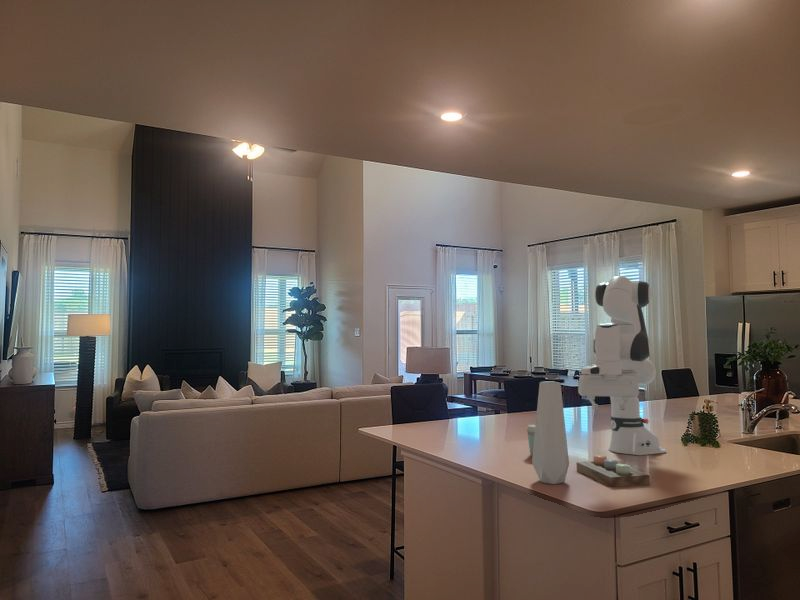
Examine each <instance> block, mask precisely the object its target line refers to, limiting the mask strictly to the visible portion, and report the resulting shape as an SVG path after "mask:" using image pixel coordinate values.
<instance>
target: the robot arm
mask: <svg viewBox="0 0 800 600" xmlns="http://www.w3.org/2000/svg"><path fill="white" fill-rule="evenodd" d="M652 293H653V292H652V289H651V286H650V284H649V283H648V282H646V281H642V280H638V281H637V280H635V281H634V280H630V279H629V278H628V277H626V276H623V275H617V276H613V277H612V278H610V279H609V280H608V282H607V281H603V282H601V283H598V284H597V286H596V287H595V289H594V294H593V295H594V300H595V302H596V304H597V305H598V306H599V307H602V308H603V310H604V311H603V312H605V314H606V315H607V316H608V317H610V322H603V323H598V324H597V325H596V327H595V332H594V333H595V334H594V339H593V353H594V354H595V357H594V363H593V364H591V365H590V364H589V365H586V366H584V367H581V369H580V372H581V375H580V376H579V378H578V387H577V393H578V394H579V396H582V397H588V400H589V402H590V404H591V408H592V410H594V411H595V410H598V411H599V404H597V403H596V402H595V400H596V397H609V399H610V406H611V416H610V428H611V429H610V430H611V434H610V443H609V447H608V451H610V452H612V453H613V452H614V453H618V454H623V455H624V454H626V455H634V456H646V455H656V454H663V453H667V451H666V449H665V448H664V447H661V445H660V440H659V438H658V436H657V435H656V434H655V433H653V432H652V431H651V430H650V429H648V428H647V427H645V425H644V424H647V425H648V424H649V423H650V420H649V419H648V418H646V417H645V418H642V417H641V414H640V413H641V409H640V399H639V398H638V396H639V395H640V388H639V386H640V385H646V384H651V383H653V381H654V379H655V378H656V375H657V370H656V366H655V364H654V363H653V362H652V360H650V359H649V357H650V355H651V352H652V344H651V341H650V339H649V337H648V332H647V325H646V321H645V316H644V312H643V309H642V308H644V307H646V306H648V305H649V304H650V301H651V300H652Z"/></svg>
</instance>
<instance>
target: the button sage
mask: <svg viewBox="0 0 800 600" xmlns="http://www.w3.org/2000/svg"><path fill="white" fill-rule="evenodd" d="M630 467H631V465H629V464H625V463H620V464H616V474H619V475H630Z"/></svg>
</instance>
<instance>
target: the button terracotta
mask: <svg viewBox="0 0 800 600" xmlns="http://www.w3.org/2000/svg"><path fill="white" fill-rule="evenodd" d="M606 459H608V458H607V456H606V455H603V454H595V455H593V461H594V464H595V465H604V460H606Z"/></svg>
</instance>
